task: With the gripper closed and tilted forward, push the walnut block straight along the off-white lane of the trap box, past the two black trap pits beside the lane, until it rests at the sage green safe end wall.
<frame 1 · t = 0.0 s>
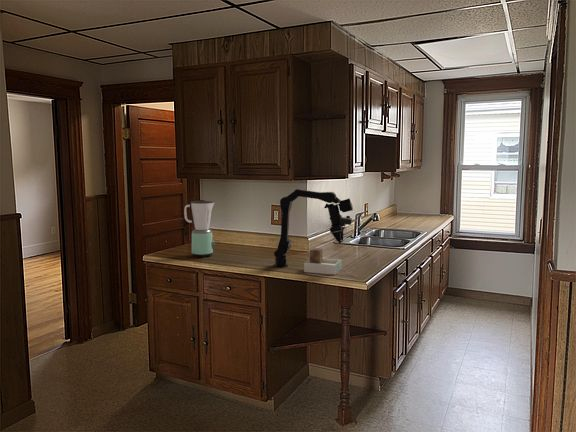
hand: (341, 241, 267), 15 cm above the table, fingers open, 9 cm apart
walnut block: (315, 263, 270), point 3 cm above the table, touching trap box
trap box: (324, 269, 269), on the table
mint green blender: (201, 256, 304), on the table
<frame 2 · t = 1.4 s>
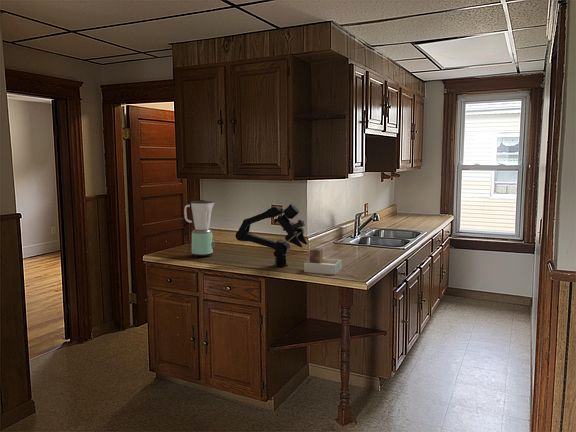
hand: (304, 245, 271), 13 cm above the table, fingers open, 9 cm apart
nothing on the table moved.
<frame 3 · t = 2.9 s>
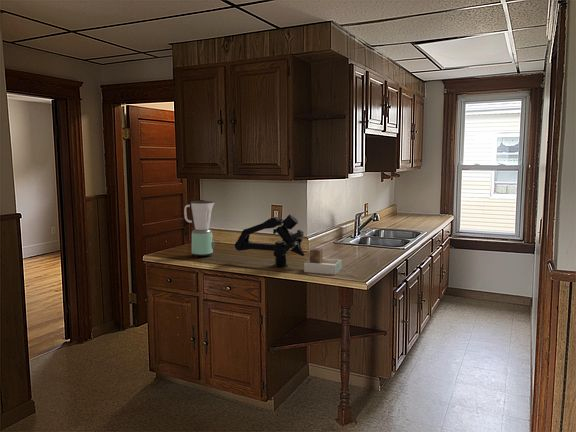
hand: (303, 255, 272), 7 cm above the table, fingers closed
nothing on the table moved.
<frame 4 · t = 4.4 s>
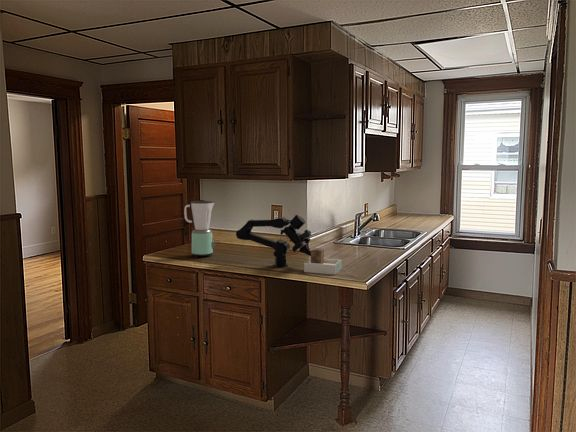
hand: (311, 255, 270), 7 cm above the table, fingers closed, pressing on walnut block
walnut block: (317, 263, 270), point 3 cm above the table, touching gripper
everything else where it was.
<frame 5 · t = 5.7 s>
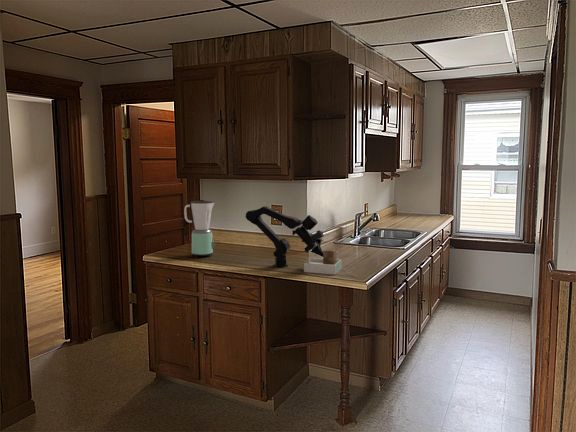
hand: (324, 256, 268), 7 cm above the table, fingers closed, pressing on walnut block
walnut block: (329, 264, 268), point 3 cm above the table, touching gripper
everything else where it was.
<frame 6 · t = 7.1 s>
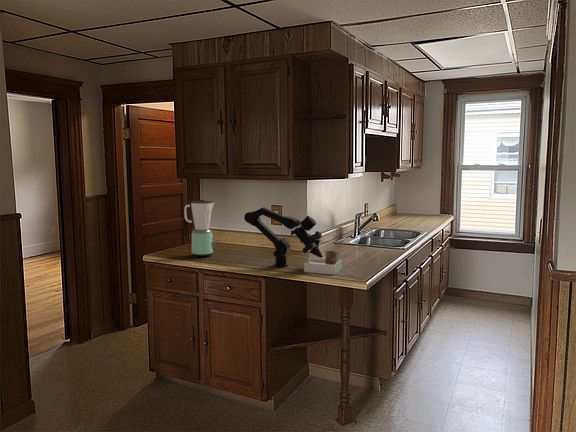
hand: (322, 257, 268), 7 cm above the table, fingers closed
walnut block: (332, 264, 267), point 3 cm above the table, touching trap box
everything else where it was.
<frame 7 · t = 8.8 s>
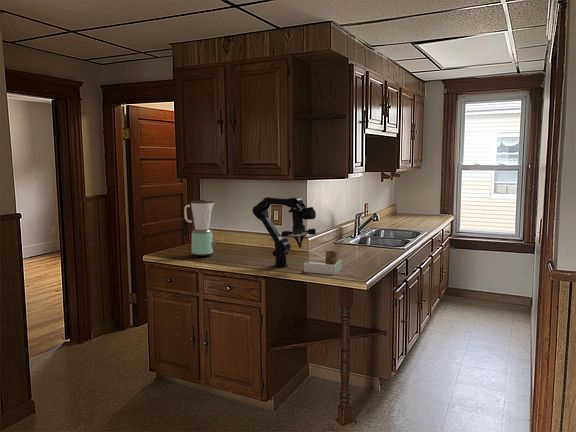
hand: (300, 248, 269), 12 cm above the table, fingers closed
nothing on the table moved.
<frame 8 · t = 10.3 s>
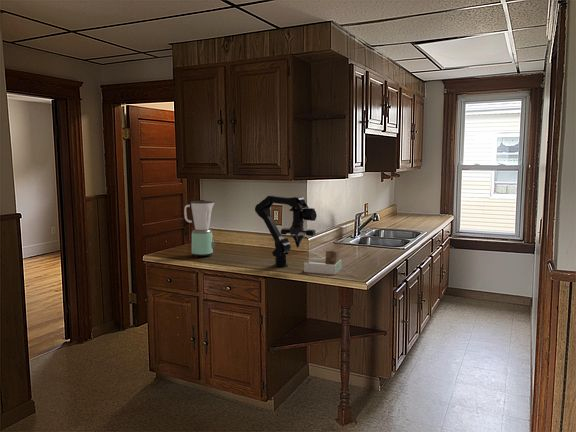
hand: (297, 247, 269), 12 cm above the table, fingers closed
nothing on the table moved.
at the end: walnut block 0.1 cm from the target spot on the trap box, point 3.0 cm above the trap box's base; walnut block tilted 0° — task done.
